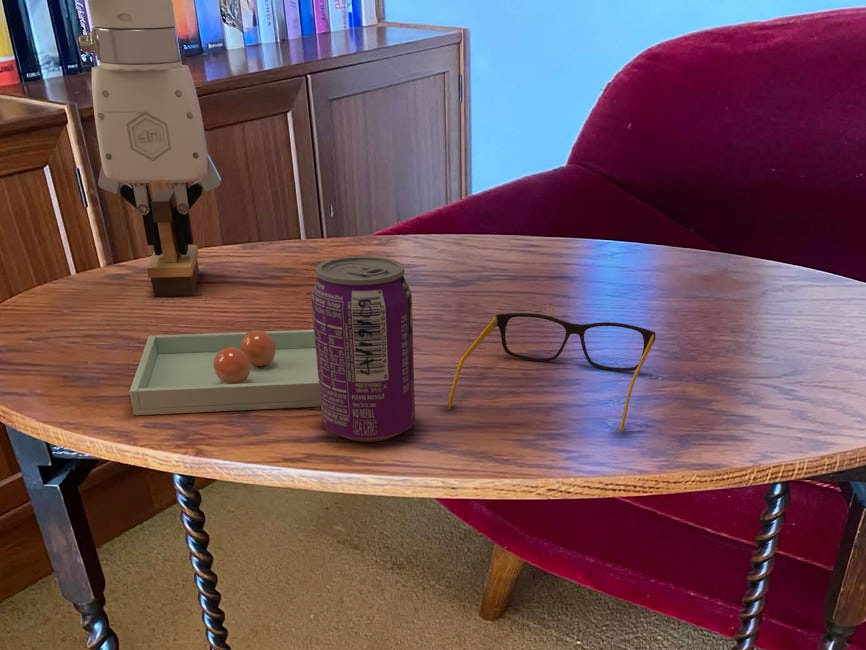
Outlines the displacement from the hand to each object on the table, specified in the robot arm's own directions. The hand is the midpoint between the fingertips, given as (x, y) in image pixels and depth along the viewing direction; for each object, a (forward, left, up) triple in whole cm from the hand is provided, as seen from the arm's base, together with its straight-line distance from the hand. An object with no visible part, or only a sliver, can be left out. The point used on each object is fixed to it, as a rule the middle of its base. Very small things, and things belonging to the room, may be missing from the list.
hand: (171, 250), depth 102 cm
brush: (0, 0, -4) cm, 4 cm away
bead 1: (+8, -31, -2) cm, 32 cm away
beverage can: (+18, -41, -4) cm, 45 cm away
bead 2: (+10, -27, -2) cm, 29 cm away
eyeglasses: (+34, -35, -4) cm, 49 cm away
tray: (+9, -29, -4) cm, 31 cm away
